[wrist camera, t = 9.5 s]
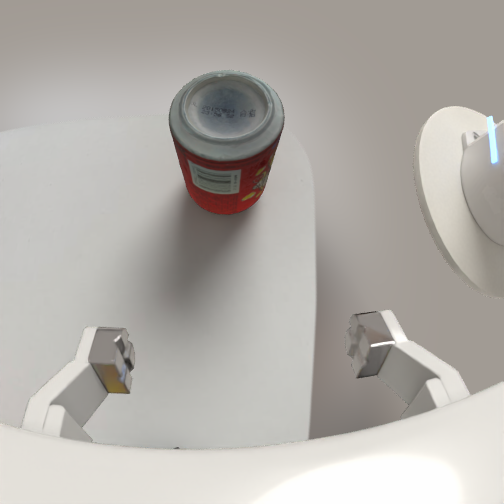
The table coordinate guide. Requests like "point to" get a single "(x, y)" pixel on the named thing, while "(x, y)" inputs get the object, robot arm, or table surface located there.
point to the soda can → (226, 138)
